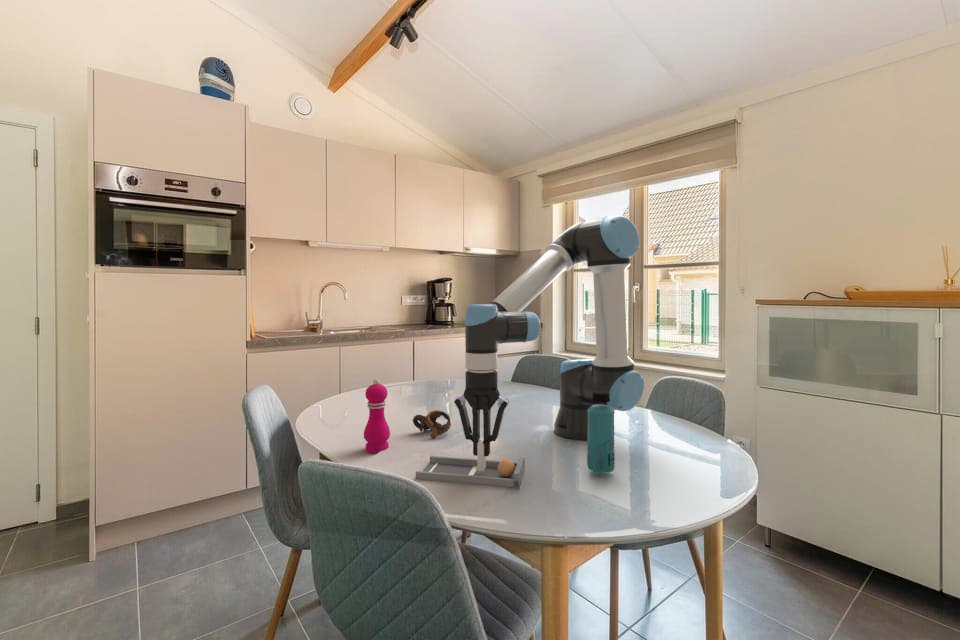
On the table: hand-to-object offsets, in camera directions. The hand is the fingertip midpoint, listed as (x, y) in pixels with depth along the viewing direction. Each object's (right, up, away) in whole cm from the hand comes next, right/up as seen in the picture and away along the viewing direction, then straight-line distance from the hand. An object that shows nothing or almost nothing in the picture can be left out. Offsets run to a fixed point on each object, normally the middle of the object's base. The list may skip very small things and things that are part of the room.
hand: (481, 468), depth 106 cm
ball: (+4, -1, -1) cm, 4 cm away
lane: (-2, -2, +1) cm, 3 cm away
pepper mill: (-29, -1, +19) cm, 35 cm away
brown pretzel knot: (-15, -1, +34) cm, 37 cm away
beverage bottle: (+28, -2, +2) cm, 29 cm away
